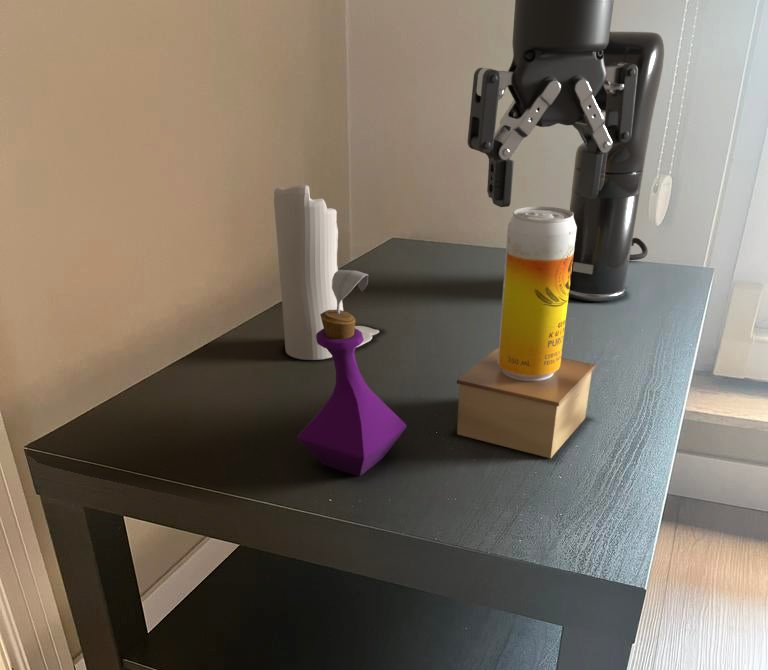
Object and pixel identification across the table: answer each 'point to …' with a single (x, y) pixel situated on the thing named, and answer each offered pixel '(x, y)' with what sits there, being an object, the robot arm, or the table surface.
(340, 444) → the purple potion bottle
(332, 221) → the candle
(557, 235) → the beer can
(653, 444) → the table surface
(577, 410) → the wooden box
